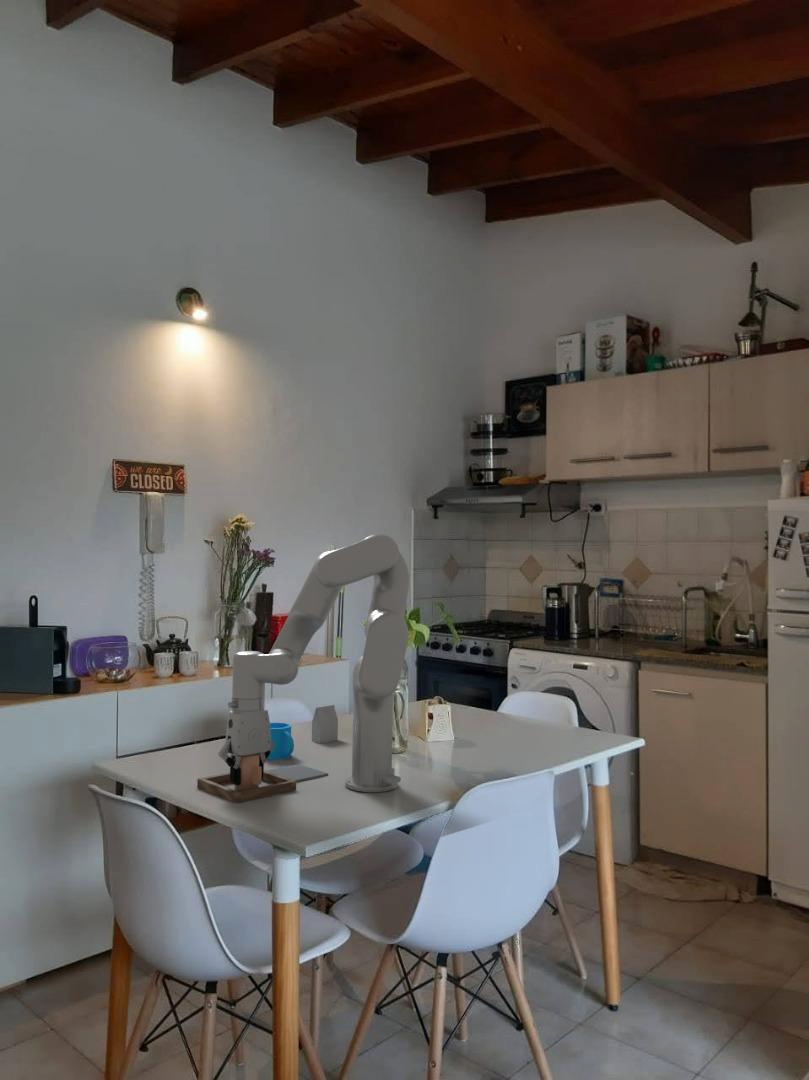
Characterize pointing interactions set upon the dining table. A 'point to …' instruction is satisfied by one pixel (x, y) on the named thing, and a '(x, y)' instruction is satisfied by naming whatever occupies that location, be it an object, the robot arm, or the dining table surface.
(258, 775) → the jug
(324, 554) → the robot arm
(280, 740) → the mug
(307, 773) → the mat
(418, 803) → the dining table surface
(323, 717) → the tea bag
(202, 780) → the wooden square frame
